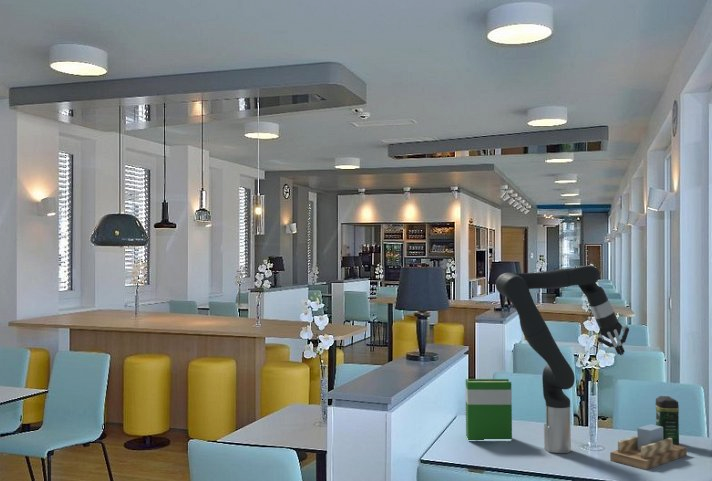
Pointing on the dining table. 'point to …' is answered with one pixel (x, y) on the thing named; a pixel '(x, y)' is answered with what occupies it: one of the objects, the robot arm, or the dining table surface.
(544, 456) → the dining table surface
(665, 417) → the coffee jar
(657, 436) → the block
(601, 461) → the dining table surface
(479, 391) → the hardback book
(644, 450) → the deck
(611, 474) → the dining table surface
